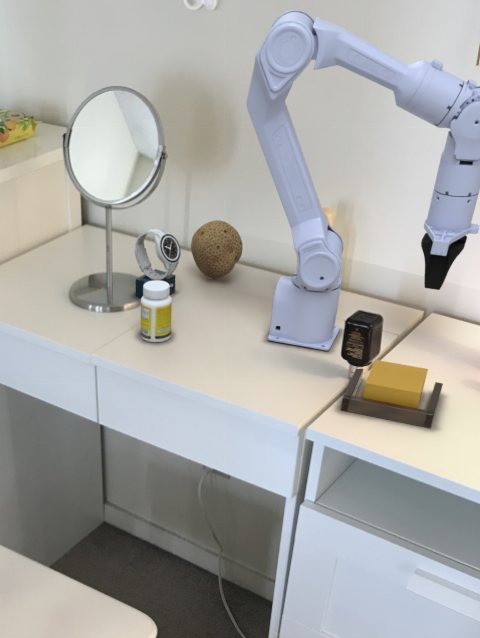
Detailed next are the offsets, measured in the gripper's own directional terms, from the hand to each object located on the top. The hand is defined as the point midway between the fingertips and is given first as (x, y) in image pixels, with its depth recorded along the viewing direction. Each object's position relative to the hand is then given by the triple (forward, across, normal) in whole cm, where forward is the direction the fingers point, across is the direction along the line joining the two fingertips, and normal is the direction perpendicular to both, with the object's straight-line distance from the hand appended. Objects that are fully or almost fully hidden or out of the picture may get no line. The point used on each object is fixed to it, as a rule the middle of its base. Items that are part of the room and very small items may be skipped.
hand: (432, 287), depth 117 cm
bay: (+9, -18, +1) cm, 20 cm away
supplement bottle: (+10, -12, +38) cm, 41 cm away
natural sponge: (+10, +14, +37) cm, 41 cm away
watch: (+10, +3, +44) cm, 45 cm away
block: (+9, -18, +1) cm, 20 cm away
